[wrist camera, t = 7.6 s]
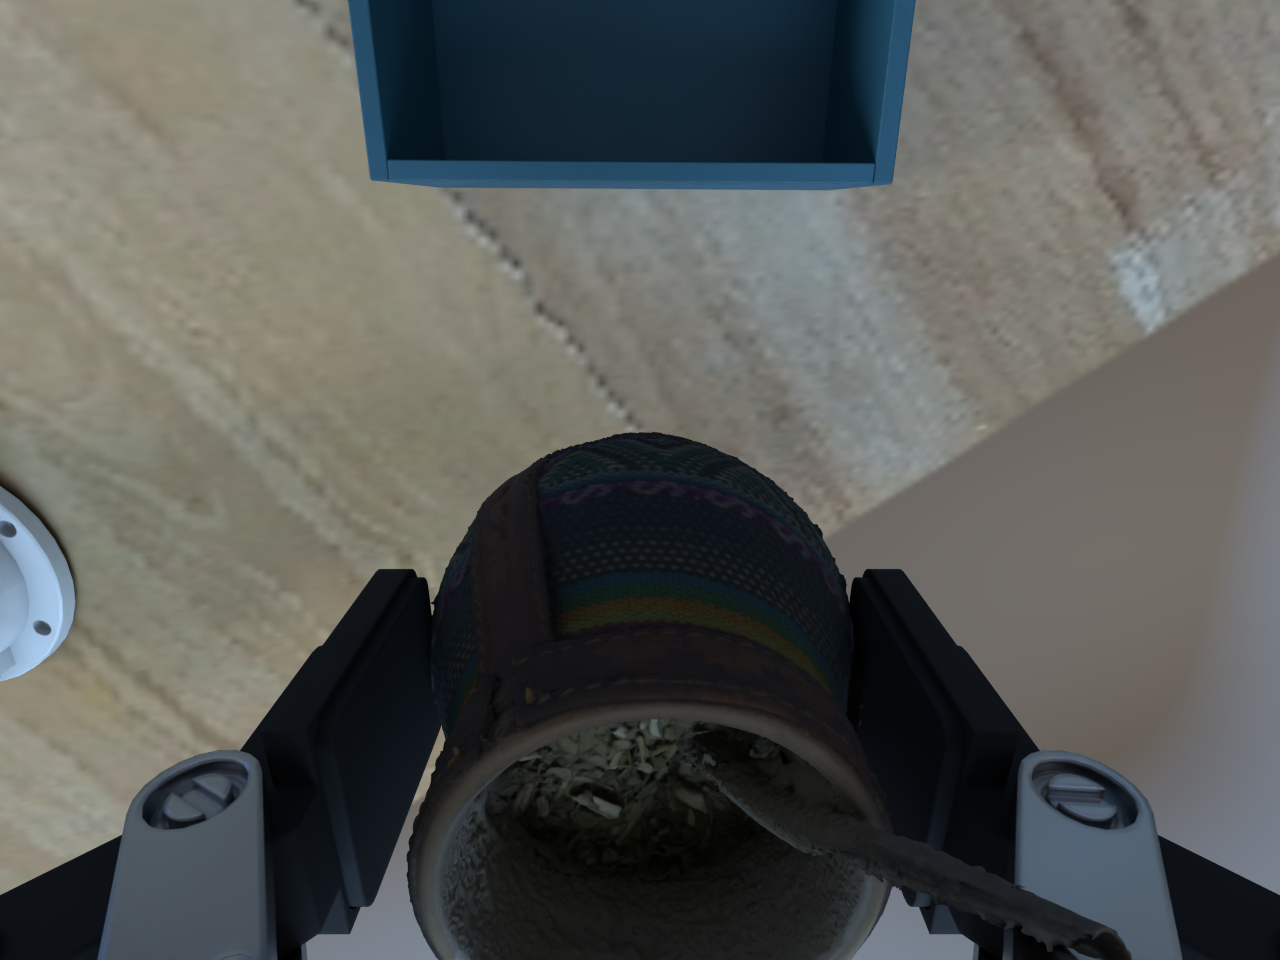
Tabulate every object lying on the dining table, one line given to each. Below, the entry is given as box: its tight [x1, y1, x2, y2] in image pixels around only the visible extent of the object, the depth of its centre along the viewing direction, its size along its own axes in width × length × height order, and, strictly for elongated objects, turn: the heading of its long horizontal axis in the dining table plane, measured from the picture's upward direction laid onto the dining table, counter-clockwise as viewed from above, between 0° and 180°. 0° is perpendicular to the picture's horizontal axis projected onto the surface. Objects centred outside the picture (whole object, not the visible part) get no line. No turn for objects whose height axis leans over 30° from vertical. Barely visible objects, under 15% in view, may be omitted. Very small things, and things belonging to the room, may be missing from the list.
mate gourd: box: [407, 432, 1132, 960], centre depth 10 cm, size 7×8×10 cm
